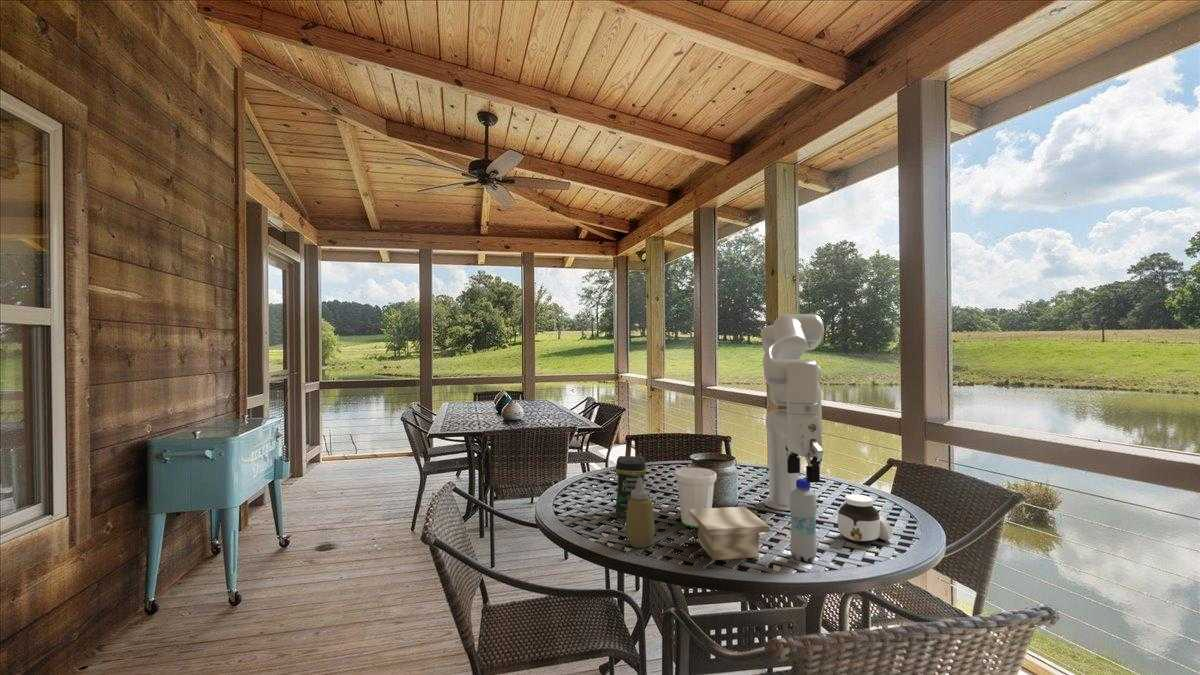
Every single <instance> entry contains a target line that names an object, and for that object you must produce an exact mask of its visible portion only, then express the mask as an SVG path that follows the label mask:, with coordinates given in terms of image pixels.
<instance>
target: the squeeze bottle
mask: <svg viewBox="0 0 1200 675" xmlns="http://www.w3.org/2000/svg"><path fill="white" fill-rule="evenodd" d="M631 497H632V498H630V499H629V500H628V506H627V517H626V518H625V520H626V521H625V530H624V531H625V534H626V537H627V541H628V543H629V545H630V546H631V547H632V548H633V547H634V548H637V549H638V548H639V549H641V548H648V547H650V546H651V545H652V543H653V539H654V535H655V533H656V526H655V520H654V519H655V518H654V509H653V508H654V507H653V501H652V499H650V498H649V491H648V490H647V489H645V484H644V485H643V481H642V478H638V479H637V483H636V488H635V490H632V492H631Z"/></svg>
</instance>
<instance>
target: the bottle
mask: <svg viewBox="0 0 1200 675" xmlns="http://www.w3.org/2000/svg"><path fill="white" fill-rule="evenodd" d="M789 505H790V507H789V509H790V510H791V511H790V540H789V541H790V542H789V543H790V544H789V547H790V554H791V556H792V557H793V558H794V559H796V560H798V561H801V560H802V558H803V560H804V562H808V561H814V560H815V558H816V555H817V552H818V548H817V547H818V546H817V537H816V536H817V534H816V533H817V532H816V531H817V528H816V526H817V522H816V521H817V520H816V514H817V512H818V509H817V508H818V503H817V494H816V492H815V491H814V490H812V489H811V483H808V482H807V481H806V478H799V479H798V480H797V481H796V488H795V489H793V490H791V493H790V500H789Z"/></svg>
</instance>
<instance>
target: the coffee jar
mask: <svg viewBox="0 0 1200 675" xmlns="http://www.w3.org/2000/svg"><path fill="white" fill-rule="evenodd" d="M646 466H647V465H646V460H645V457H644V456H635V455H634V456H632V455H625V456H624V455H619V456H618V458H617V459H616V465H615V472H616V475H617V492H616V500H615V501H616V502H615V515H616V516H618V517H619V518H625V519H626V517H627V506H628V500H629V499H630V498H632V497H631V492H632V490H635V488H636V483H637V479H638V478H642V481H643V485H644V486H645V475H646V472H647V467H646Z"/></svg>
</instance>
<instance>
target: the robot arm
mask: <svg viewBox="0 0 1200 675" xmlns="http://www.w3.org/2000/svg"><path fill="white" fill-rule="evenodd" d="M824 334H825V326H824V321H823V320H822V318H821V316H819V315H817V314H815V313H788V314H782V315H780V316H778V317H777V318H776V319H774V322H773V324H770V325H767V326H765V327H763V328H762V330H761V333H760V336H761V338H760V339H761V344H762V348H763V351H764V355H763V357H762V367H763V375H764V379H765V382H766V384H767V385H769V396H770V401H771V402H772V403H773V404H774V405H777V406H786V409H774V410H771V411H770V412H768V413H767V414H766V417H765V428H766V435H767V441H768V442H767V443H768V497H765V499H764V502H763V503H764V505H765V506H766V507H768V508H770V509H775V510H779V511H790V512H791V510H790V509H789V507H790V505H789V500H790V493H791V490H793V489H795V488H796V481H797V480H798V479H800V473H801V457H803V458H805V461H806V463H807V465H806V466H805V469H806V471H805V472H806V474H805V475H806V478H805V479H806V481H807V482H808V483H810V484H811V483H813V484H814V483H820V482H821V480H820V479H821V477H820V476H821V475H820V474H821V473H820V472H821V471H820V470H821V469H820V468H821V466H822V463H821V462H822V461H823V455H824V450H823V440H822V438H823V436H822V433H823V413H822V412H823V411H822V410H823V409H822V407H823V406H822V391H821V385H820V383H819V382H820V381H821V376H822V371H821V366H820V365H819V363H817V362H816V360H813V359H808V358H807V359H805V358H804V359H801V358H802V357H803V356H804V355H805V354H806V352H807V351H811V350H812V351H813V350H815V349H816V348H817V347H818V345H820V343H821V341H822V340H823V338H824ZM800 456H801V457H800Z"/></svg>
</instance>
